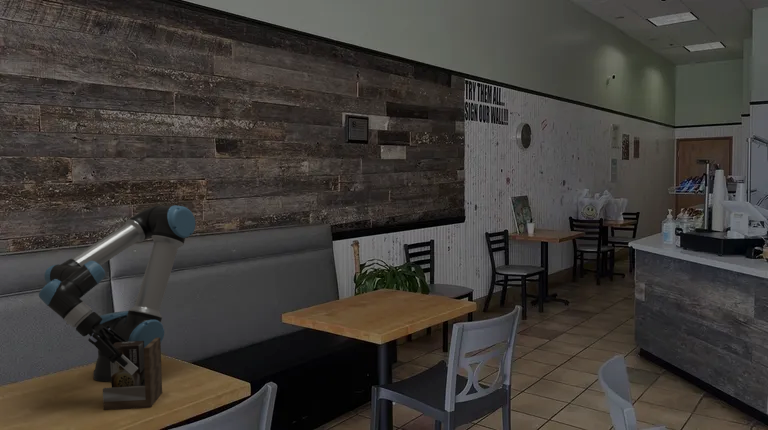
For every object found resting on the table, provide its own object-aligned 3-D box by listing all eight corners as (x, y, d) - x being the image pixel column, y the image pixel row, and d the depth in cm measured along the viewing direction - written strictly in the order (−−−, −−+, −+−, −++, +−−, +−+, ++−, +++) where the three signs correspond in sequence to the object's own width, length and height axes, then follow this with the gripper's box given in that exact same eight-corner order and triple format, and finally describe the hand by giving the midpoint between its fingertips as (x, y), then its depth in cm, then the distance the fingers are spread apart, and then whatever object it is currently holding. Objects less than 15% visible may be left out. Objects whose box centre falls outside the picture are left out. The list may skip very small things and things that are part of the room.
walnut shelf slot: (118, 395, 200) (116, 339, 199) (162, 392, 202) (160, 337, 201) (103, 410, 186) (101, 350, 185) (150, 407, 188) (148, 348, 187)
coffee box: (146, 389, 197) (145, 340, 197) (141, 396, 191) (139, 345, 190) (117, 391, 196) (115, 341, 196) (110, 397, 190) (109, 346, 189)
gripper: (87, 321, 201) (139, 367, 204) (62, 336, 181) (120, 386, 183) (103, 305, 202) (155, 350, 204) (80, 317, 181) (138, 368, 184)
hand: (139, 367), depth 194 cm, fingers open, 8 cm apart
